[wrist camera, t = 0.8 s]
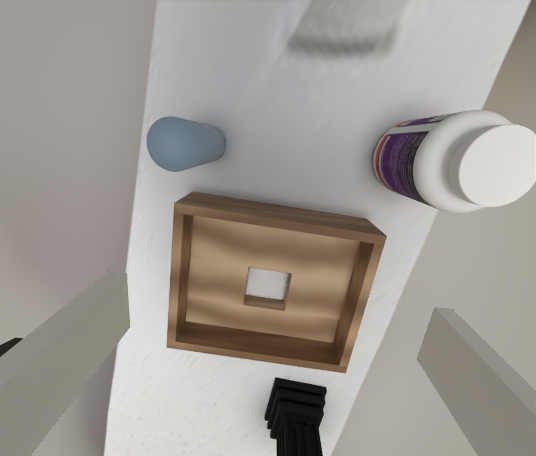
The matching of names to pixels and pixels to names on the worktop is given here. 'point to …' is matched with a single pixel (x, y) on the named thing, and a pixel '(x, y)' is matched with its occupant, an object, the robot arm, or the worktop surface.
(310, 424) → the chess piece
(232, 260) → the box
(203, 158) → the peg
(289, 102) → the worktop surface
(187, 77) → the worktop surface
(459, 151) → the pill bottle
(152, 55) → the worktop surface
